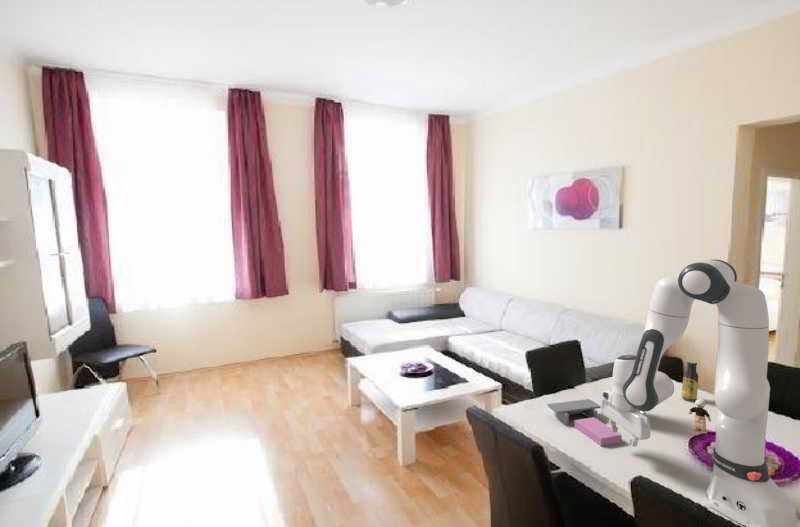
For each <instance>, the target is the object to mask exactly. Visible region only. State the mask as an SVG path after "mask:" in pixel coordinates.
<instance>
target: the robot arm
mask: <svg viewBox="0 0 800 527" xmlns="http://www.w3.org/2000/svg"><path fill="white" fill-rule="evenodd" d="M737 280H738V275H737V271H736V270H735V268H734V266H732V265H731V264H730V263H728V262H726V261H724V260H721V259H704V260H703V259H702V260H698V261H696V262H693V263H690V264H689V265H687V266H685V267H684V268H683V269H682V270H681V272H680V273H679V275H678V276H666V277H663V278H660V279H659V280H658V281H657V282H656V284H655V287H654V288H653V290H652V291H653V292H652V294H651V297H650V301H649V305H648V310H647V315H646V316H647V317H646V321H645V325H644V329H643V333H642V337H641V340H640V343H639V346H638V349H637V352H636V353H637V354H636V355H633V354H632V355H631V354H627V355H626V354H625V355H624V354H623V355H620V356H618V357H617V358H616V359H615V360H614V362H613V370H612V378H611V379H612V383H613V384H612V388H611V389H607V390H602V391H601V401H600V402H601V403H600V406H601V408H600V411H601V414H603V415H604V416H605V417H607V418H608V422H609V425H610V428H611V431H613V432H618V431H619V428H618V426H619V427H621V428H623V429H624V430H626V432H628V433H630V434H631V435H632V439H629V445H631V446H632V447H633V448H634V447H637V446H638V442H639V441H640V440H641V441H645V440H649V439H650V438H651V420H650V418H649V416H648V415H647V413H646V412H650V411H652V410H653V409H654V408H655V407H656V406H658V405H660V404H661V403H663V402H665V401H666V400H668V399H669V398H670V397H672V396H673V394H674V391H675V385H674V382H673V381H672V379H671V377H670V376H669V375H668V374H666V373H664V372H663V371H659V370H658V369H659V366H660V363H661V359H662V358H663V355H664V354H665V352H666V350H668V349H669V348H670V347H671V346H672V345H673V344H674V343H676V342H677V341H678V340H679V339H681V338H682V336H683V335H684V333H685V331H686V330H687V327H688V325H689V320H690V316H691V311H692V307H693V303H694V302H695V300H697V301H702V302H704V303H708V304H710V305H716V306H717V314H718V317H717V318H718V319H717V327H718V328H717V356H716V364H715V365H716V366H715V373H714V374H715V375H714V390H713V398H714V403H715V405H716V408H717V409H718V410H717V411H718V412H717V418H716V424H715V442H714V443H715V444H714V446H715V447H713V450H712V451H713V453H712V463H713V469H712V473H711V478H710V482H709V485H708V486H707V489H706V495H707V496H706V497H707V498H708V499H707V506H709V507H711V508H712V509H714V510H715V511H717V512H719V513H721V514H722V515H723V516H726V517H728V518H730V519H731V520H733V521H734V522H736V521H738V522H737V523H738V524H739V523H740V524H739V525H741V526H743V525H746V526H748V527H800V520H799V519H798V516H797V511H796V507H795V505H794V503H793V502H792V501H791V500H790V499H789V497H788V496H787V494H786V493H785V492H784V491H782V490H781V488H780V487H779V486H778V485H777V484H776V483H775V482H774V480H773V479H772V478H771V477H772V476H773V475H775V469H771V470H769V468H768V465H767V462H766V460H765V454H766V452H765V451H766V439H767V438H766V436H767V435H766V434H767V428H768V425H767V424H768V417H769V416H768V415H769V406H770V404H769V403H770V395H771V394H770V392H771V385H770V382H769V380H768V378H767V377H768V364H769V363H768V362H769V347H770V345H769V343H770V342H769V340H770V338H769V337H770V336H769V334H770V331H769V330H770V319H769V317H770V316H769V309H768V303H767V299H766V295H765V293H764V292H763V291H762V290H761V289H760V288H758V287H756V286H754V285H750V284H749V285H748V284H742V283H741V284H740V283H738V282H737ZM617 425H618V426H617ZM771 475H772V476H771Z"/></svg>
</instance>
